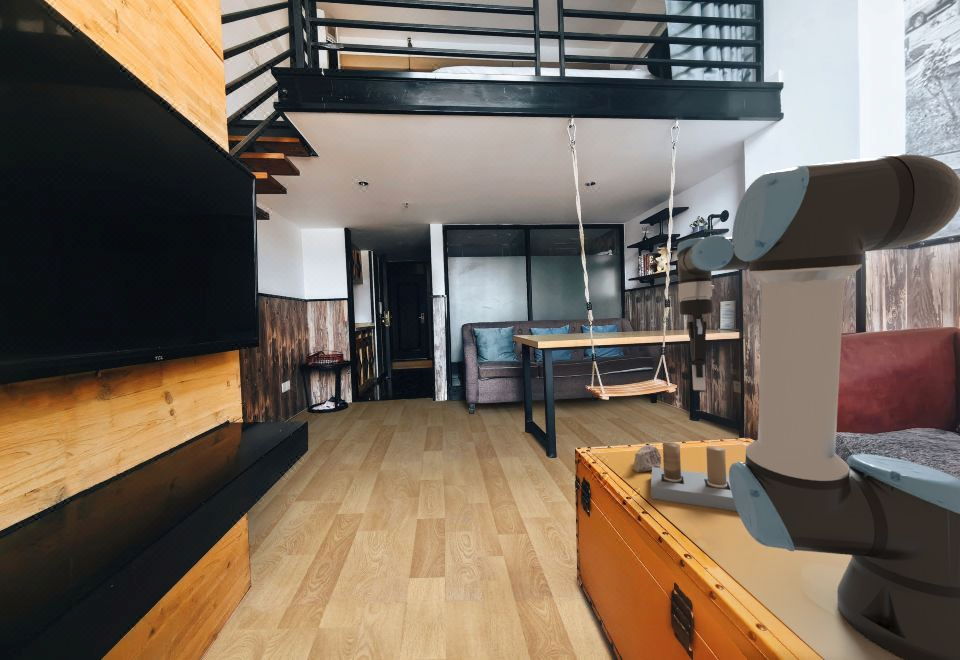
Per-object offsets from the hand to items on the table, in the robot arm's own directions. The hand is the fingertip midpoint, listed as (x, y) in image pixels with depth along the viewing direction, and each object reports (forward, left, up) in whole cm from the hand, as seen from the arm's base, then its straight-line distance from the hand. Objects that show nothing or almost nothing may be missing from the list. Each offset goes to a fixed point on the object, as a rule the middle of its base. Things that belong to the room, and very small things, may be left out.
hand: (699, 389), depth 97 cm
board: (-3, +2, -26) cm, 27 cm away
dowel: (-3, +7, -26) cm, 28 cm away
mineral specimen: (+12, +14, -27) cm, 33 cm away
